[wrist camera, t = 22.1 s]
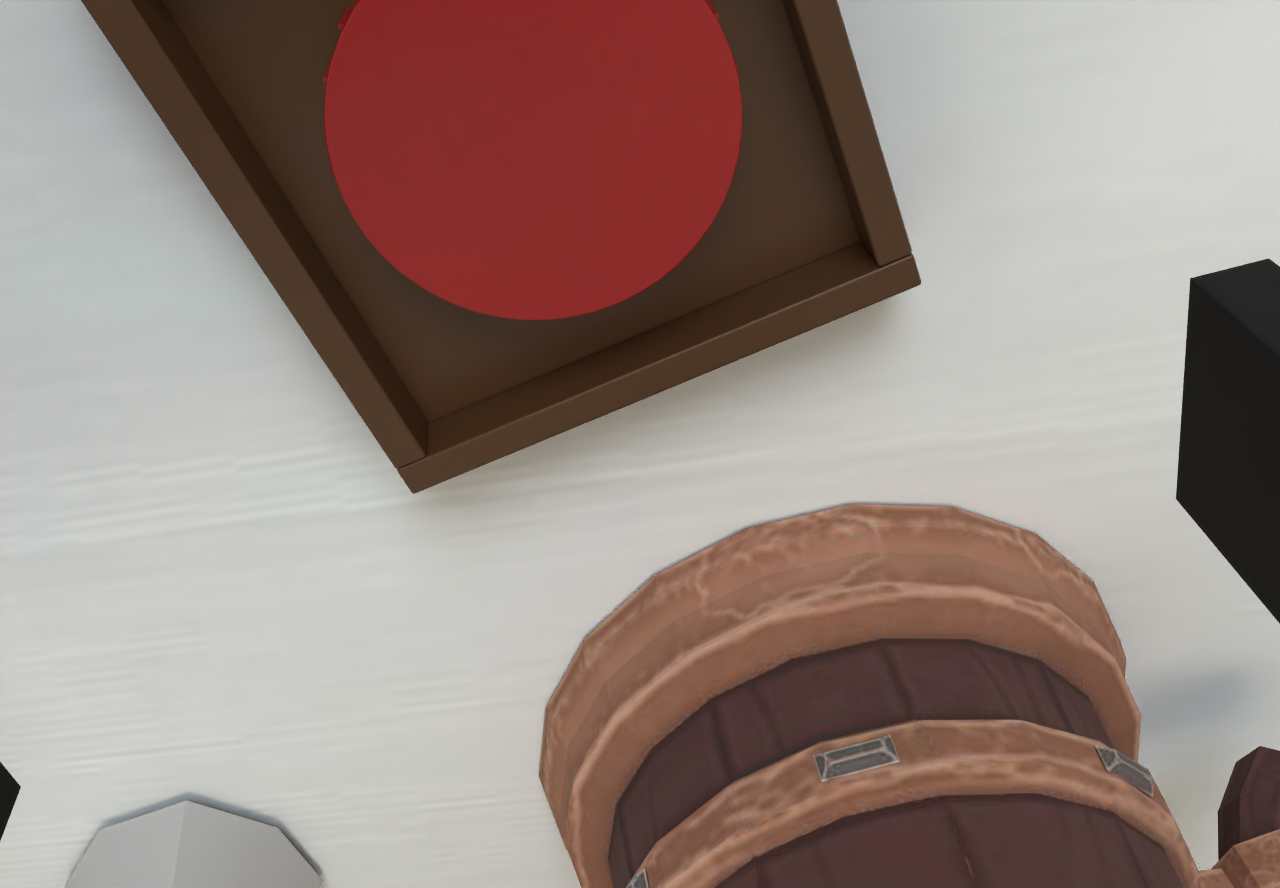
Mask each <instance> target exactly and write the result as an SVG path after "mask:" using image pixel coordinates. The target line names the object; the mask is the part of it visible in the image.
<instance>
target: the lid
mask: <svg viewBox="0 0 1280 888" xmlns="http://www.w3.org/2000/svg"><path fill="white" fill-rule="evenodd" d="M719 18H720V16H719V14H718V12H717V10H716V9H715V8H714V6H713V5H712V3H711V2H710V0H353V2H352V4H351V6H350V8H347V7H345V8H344V10H343V13H342V16H341V19H340V21H339V24H338V27H337V28H339V29H341V32H340V35H339V38H338V41H337V44H336V47H335V50H334V53H333V56H332V58H331V59H330V61H329V64H328V67H327V70H326V72H325V75H324V79H323V82H324V83H326V87H325V101H324V126H325V130H324V137H325V139H326V146H327V151H328V155H329V160H330V164H331V169H332V172H333V175H334V177H335V180H336V183H337V186H338V188H339V191H340V194H341V196H342V198H343V200H344V202H345V204H346V206H347V208H348V210H349V212H350V213H351V215H352V217H353V219H354V220H355V222H356V223H357V225H358V226H359V228H360V229H361V231H362V232H363V233H364V235H365V236H366V238H367V239H368V240H369V242H370V243H371V244H372V245H373V246H374V247H375V248H376V249H377V250H378V252H379V253H380V254H381V255H382V256H383V257H384V258H385V259H386V260H387V261H388V262H389V263H390V264H391V265H393V266H394V267H395V268H396V269H397V270H398V271H399V272H401V273H402V274H403V275H404V276H405V277H407V278H408V279H410V280H411V281H413V282H414V283H416V284H417V285H419V286H420V287H422V288H423V289H425V290H426V291H428V292H430V293H432V294H434V295H436V296H438V297H440V298H442V299H443V300H445V301H447V302H449V303H452V304H455V305H458V306H460V307H463V308H466V309H468V310H471V311H474V312H478V313H482V314H487V315H491V316H495V317H501V318H509V319H517V320H553V319H562V318H571V317H575V316H580V315H584V314H588V313H593V312H596V311H599V310H602V309H605V308H607V307H610V306H613V305H616V304H619V303H621V302H623V301H625V300H627V299H629V298H631V297H633V296H635V295H637V294H639V293H641V292H642V291H644V290H645V289H647V288H648V287H650V286H651V285H653V284H654V283H656V282H657V281H659V280H660V279H662V278H663V277H664V276H665V275H667V274H668V273H669V272H670V271H671V270H672V269H674V268H675V267H676V266H677V265H678V264H680V263H681V261H682V260H683V259H684V258H685V257H686V256H687V255H688V254H689V253H690V252H691V251H692V250H693V249H694V248H695V246H696V245H697V244H698V243H699V241H700V240H701V239H702V237H703V236H704V234H705V233H706V232H707V230H708V229H709V228H710V226H711V225H712V223H713V221H714V219H715V218H716V216H717V214H718V212H719V210H720V209H721V207H722V205H723V203H724V201H725V198H726V196H727V193H728V191H729V188H730V186H731V183H732V180H733V178H734V174H735V170H736V166H737V162H738V158H739V154H740V145H741V137H742V129H743V121H742V96H741V90H740V83H739V76H738V72H737V70H738V65H737V63H736V62H735V60H734V58H733V54H732V51H731V48H730V46H729V43H728V41H727V39H726V37H725V34H724V32H723V30H722V27H721V25H720V23H719V21H718V20H717V19H719Z"/></svg>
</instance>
